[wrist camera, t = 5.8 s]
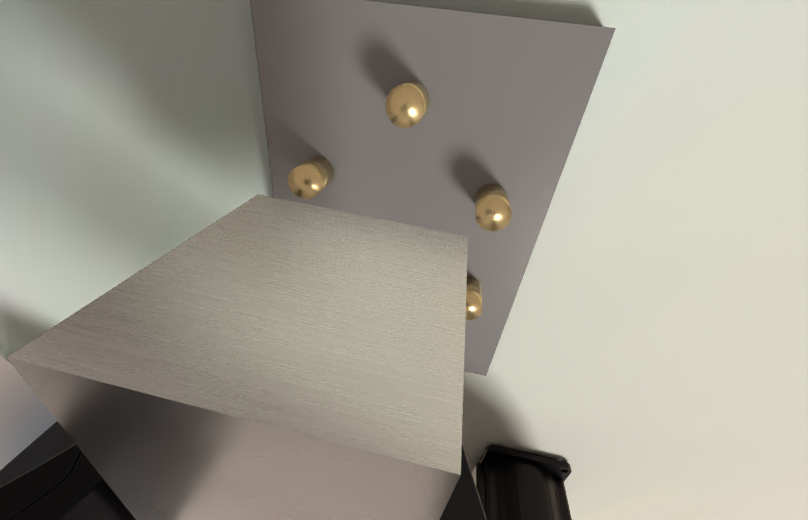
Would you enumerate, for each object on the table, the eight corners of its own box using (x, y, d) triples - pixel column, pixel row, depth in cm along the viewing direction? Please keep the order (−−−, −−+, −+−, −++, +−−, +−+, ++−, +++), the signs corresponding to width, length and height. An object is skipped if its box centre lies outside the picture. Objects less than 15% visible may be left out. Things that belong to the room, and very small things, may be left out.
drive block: (467, 236, 7) (460, 474, 3) (410, 445, 12) (378, 646, 8) (258, 194, 8) (6, 357, 4) (284, 412, 13) (191, 589, 8)
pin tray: (605, 30, 12) (638, 24, 9) (485, 363, 22) (487, 400, 19) (262, -9, 13) (216, -22, 11) (297, 323, 23) (277, 354, 20)
